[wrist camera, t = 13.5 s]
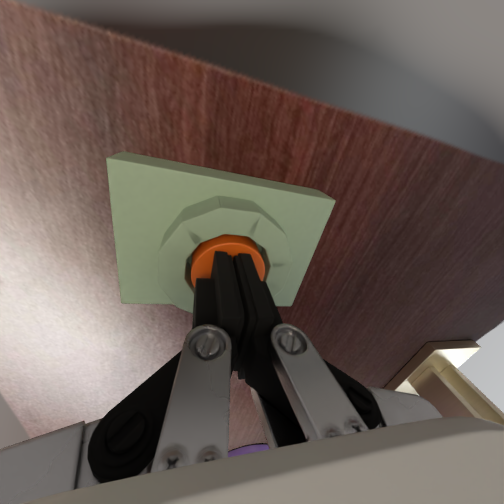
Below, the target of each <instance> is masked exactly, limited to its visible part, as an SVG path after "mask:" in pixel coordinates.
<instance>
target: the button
mask: <svg viewBox="0 0 504 504" xmlns="http://www.w3.org/2000/svg"><path fill="white" fill-rule="evenodd" d="M215 251H223V252H227V254H228V255H231V256H232V260H233V257H234V256H238V253H246V254H251V256H252V259H253V262H254V264H255V267H256V270H257V272H258V275H259V278H260V280H261V281H263V278H264V274H265V264H264V261H263V259H262V256H261V254H260V252H259V250H258V247H257V245H256V243H255V241H253V240H252V239H251V238H249V237H248V236H239V235H230V234H223V235H220V236H218V237H215V238H212V239H210V240H207V241H204V242H202V243H200V244H199V245H198V246H197V248H196V249H195V250H194V251H193V253H192V265H191V281H192V284H193V286H194V288H195V283H196V278H209V279H210V278H211V271H212V265H213V259H214V253H215Z"/></svg>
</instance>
